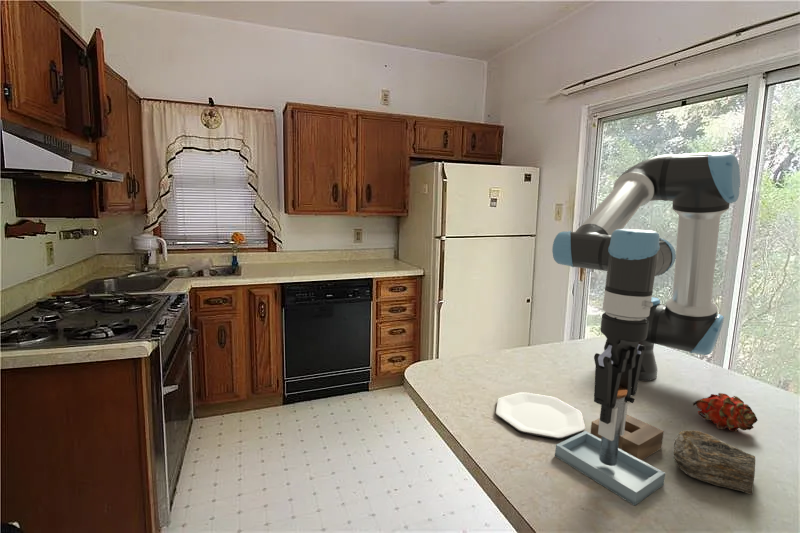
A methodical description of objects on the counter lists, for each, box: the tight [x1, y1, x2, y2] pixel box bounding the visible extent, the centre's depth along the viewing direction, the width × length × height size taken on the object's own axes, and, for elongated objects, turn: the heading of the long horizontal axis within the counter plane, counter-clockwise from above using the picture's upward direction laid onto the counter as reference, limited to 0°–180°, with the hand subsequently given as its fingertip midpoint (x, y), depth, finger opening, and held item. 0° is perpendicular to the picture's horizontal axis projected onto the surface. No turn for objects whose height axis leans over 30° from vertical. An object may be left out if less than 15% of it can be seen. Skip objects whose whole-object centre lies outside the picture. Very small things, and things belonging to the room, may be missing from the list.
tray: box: [554, 430, 666, 506], centre depth 80 cm, size 16×10×2 cm, turn 33°
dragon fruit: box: [692, 392, 759, 432], centre depth 97 cm, size 8×8×12 cm
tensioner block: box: [589, 413, 665, 461], centre depth 89 cm, size 10×10×4 cm
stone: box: [673, 430, 756, 495], centre depth 79 cm, size 14×10×10 cm
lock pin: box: [599, 385, 628, 466], centre depth 79 cm, size 4×4×15 cm
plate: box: [495, 391, 586, 440], centre depth 99 cm, size 20×20×2 cm
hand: (610, 434), depth 79 cm, fingers closed on lock pin, 3 cm apart
